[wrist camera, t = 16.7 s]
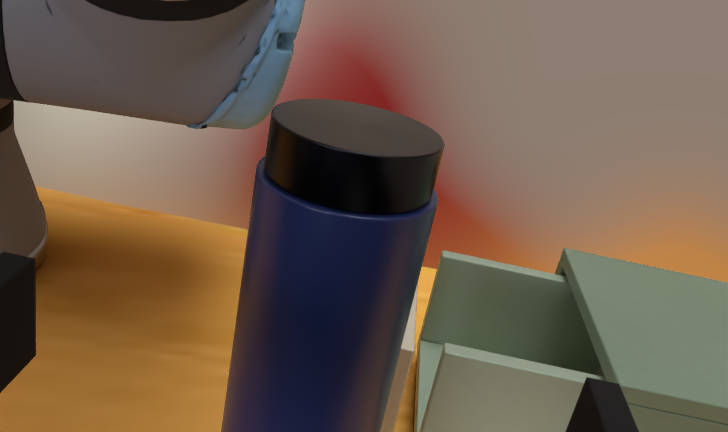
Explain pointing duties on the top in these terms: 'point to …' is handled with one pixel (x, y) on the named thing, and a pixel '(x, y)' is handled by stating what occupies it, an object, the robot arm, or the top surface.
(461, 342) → the drawer
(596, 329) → the cabinet
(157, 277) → the top surface
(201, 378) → the top surface
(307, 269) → the flask
